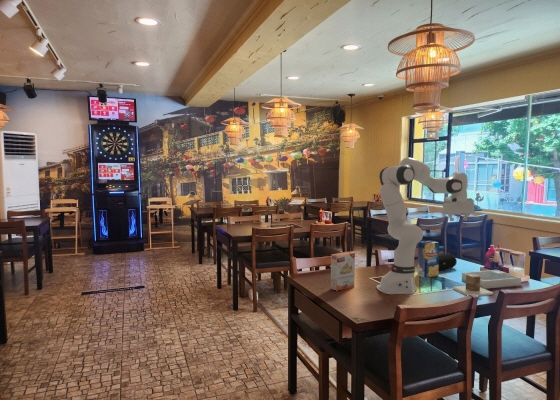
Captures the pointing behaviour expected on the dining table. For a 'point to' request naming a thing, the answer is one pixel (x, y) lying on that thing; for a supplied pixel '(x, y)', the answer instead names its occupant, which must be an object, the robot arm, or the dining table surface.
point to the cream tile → (465, 291)
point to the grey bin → (488, 283)
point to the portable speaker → (447, 261)
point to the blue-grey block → (497, 275)
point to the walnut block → (473, 282)
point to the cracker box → (342, 270)
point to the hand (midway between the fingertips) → (458, 220)
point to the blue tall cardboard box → (428, 258)
